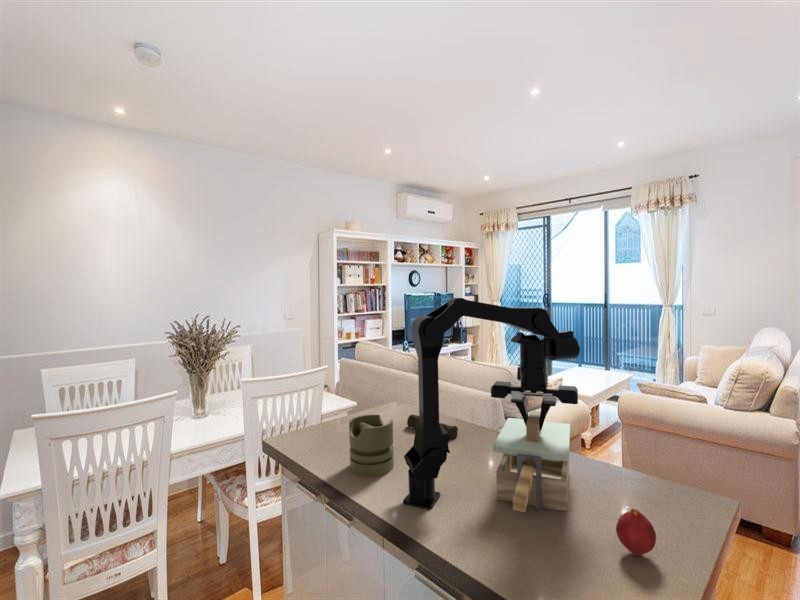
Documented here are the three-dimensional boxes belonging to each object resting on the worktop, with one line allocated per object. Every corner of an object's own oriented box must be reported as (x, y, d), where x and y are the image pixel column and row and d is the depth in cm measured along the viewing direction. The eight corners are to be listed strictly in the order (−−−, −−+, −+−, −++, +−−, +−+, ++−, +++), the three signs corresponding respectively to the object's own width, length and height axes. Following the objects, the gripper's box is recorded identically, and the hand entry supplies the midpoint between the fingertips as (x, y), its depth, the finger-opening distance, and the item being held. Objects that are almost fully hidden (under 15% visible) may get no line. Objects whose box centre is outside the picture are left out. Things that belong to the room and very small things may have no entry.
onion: (620, 539, 72) (619, 495, 72) (658, 552, 68) (657, 505, 68) (613, 556, 68) (612, 509, 67) (653, 571, 64) (652, 521, 64)
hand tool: (459, 437, 125) (458, 422, 125) (451, 441, 122) (451, 425, 122) (412, 425, 138) (412, 411, 138) (405, 428, 135) (404, 414, 135)
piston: (375, 412, 113) (401, 421, 104) (376, 454, 113) (402, 467, 104) (340, 420, 106) (365, 431, 97) (342, 466, 106) (366, 481, 97)
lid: (568, 466, 81) (568, 435, 81) (493, 456, 87) (492, 427, 87) (570, 432, 100) (570, 407, 100) (508, 425, 106) (508, 402, 106)
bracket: (541, 511, 82) (540, 458, 82) (517, 507, 84) (516, 455, 84) (542, 509, 83) (541, 456, 82) (518, 505, 84) (517, 453, 84)
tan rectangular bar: (525, 512, 68) (524, 500, 68) (512, 509, 69) (512, 498, 69) (533, 476, 81) (533, 466, 81) (523, 475, 82) (522, 465, 81)
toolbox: (566, 511, 82) (566, 482, 81) (496, 499, 87) (496, 471, 87) (568, 471, 100) (568, 446, 100) (510, 462, 105) (510, 439, 105)
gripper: (577, 358, 97) (578, 422, 97) (498, 355, 104) (499, 415, 104) (577, 366, 86) (578, 438, 87) (489, 362, 94) (491, 428, 94)
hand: (534, 429), depth 93 cm, fingers closed on lid, 2 cm apart
